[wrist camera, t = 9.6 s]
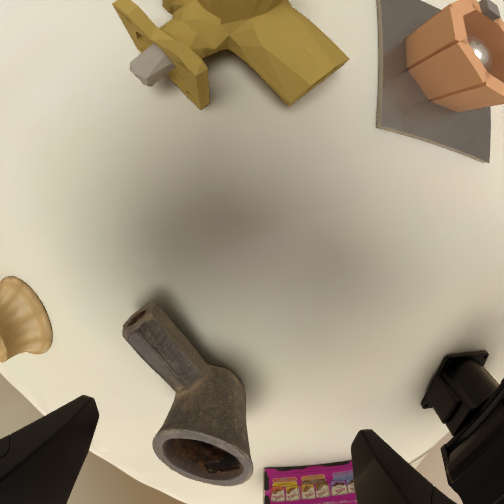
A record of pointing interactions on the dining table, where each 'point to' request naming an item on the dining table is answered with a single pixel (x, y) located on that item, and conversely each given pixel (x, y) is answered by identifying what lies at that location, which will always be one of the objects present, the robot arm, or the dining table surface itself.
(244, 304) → the dining table surface
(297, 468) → the candy bar box
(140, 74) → the ball valve
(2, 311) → the hand bell
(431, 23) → the collar
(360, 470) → the robot arm
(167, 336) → the pipe
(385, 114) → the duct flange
